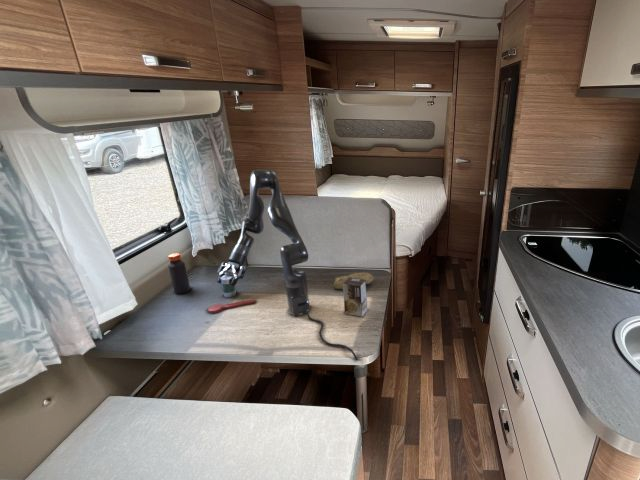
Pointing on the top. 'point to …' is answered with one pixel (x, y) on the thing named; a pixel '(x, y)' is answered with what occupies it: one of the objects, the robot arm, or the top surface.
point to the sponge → (342, 279)
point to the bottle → (178, 274)
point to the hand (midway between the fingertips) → (225, 284)
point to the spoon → (228, 306)
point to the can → (228, 286)
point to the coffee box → (355, 296)
